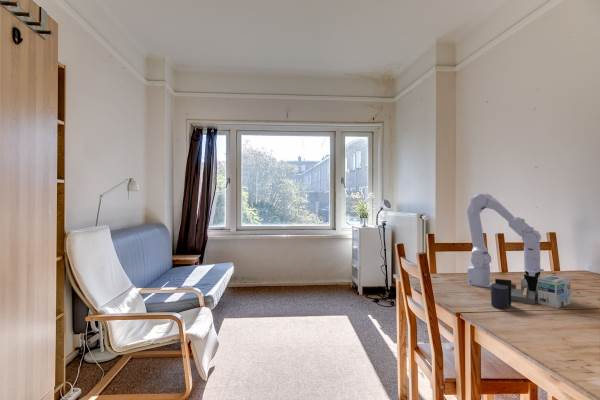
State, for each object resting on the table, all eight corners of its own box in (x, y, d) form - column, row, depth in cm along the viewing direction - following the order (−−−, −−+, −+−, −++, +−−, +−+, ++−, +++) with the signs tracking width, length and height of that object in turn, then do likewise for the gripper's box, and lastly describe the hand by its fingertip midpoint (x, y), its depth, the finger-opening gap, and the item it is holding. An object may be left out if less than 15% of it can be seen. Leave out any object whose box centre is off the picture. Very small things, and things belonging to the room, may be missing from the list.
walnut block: (504, 290, 144) (504, 283, 144) (505, 288, 147) (505, 281, 147) (515, 291, 141) (515, 284, 141) (516, 289, 145) (516, 282, 145)
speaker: (494, 301, 129) (495, 276, 128) (511, 305, 125) (511, 279, 124) (488, 307, 124) (488, 282, 123) (505, 312, 120) (506, 285, 119)
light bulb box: (557, 309, 120) (557, 280, 120) (537, 304, 126) (537, 277, 126) (571, 304, 125) (571, 277, 125) (551, 300, 131) (551, 273, 131)
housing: (521, 292, 140) (520, 278, 140) (521, 290, 144) (521, 276, 144) (544, 295, 135) (543, 280, 135) (544, 293, 139) (543, 278, 139)
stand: (492, 299, 133) (492, 290, 133) (496, 292, 143) (496, 284, 143) (534, 305, 125) (534, 296, 125) (535, 297, 134) (535, 289, 134)
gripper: (543, 262, 131) (544, 295, 131) (543, 256, 143) (544, 287, 143) (522, 260, 135) (523, 292, 135) (524, 255, 147) (524, 284, 147)
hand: (532, 289), depth 139 cm, fingers open, 7 cm apart
